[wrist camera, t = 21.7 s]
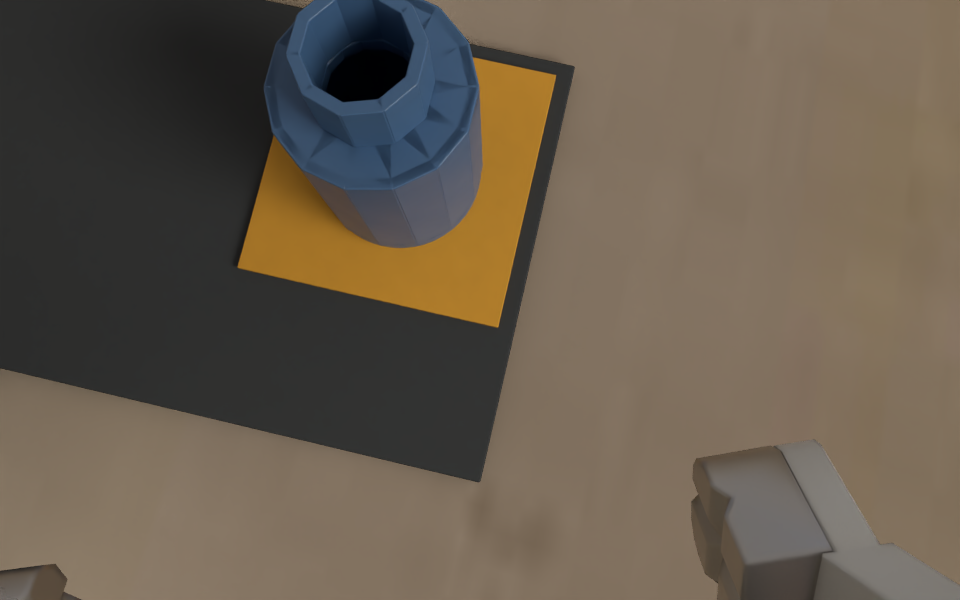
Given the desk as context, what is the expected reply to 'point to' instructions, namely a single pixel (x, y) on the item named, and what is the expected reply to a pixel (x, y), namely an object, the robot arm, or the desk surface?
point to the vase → (380, 115)
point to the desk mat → (248, 237)
